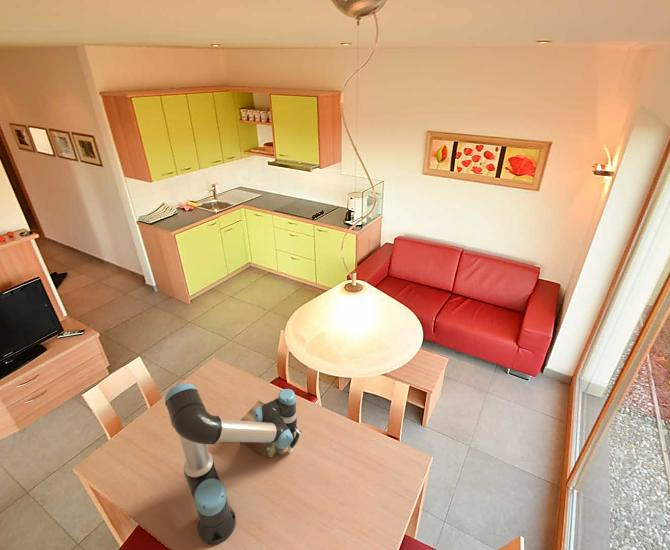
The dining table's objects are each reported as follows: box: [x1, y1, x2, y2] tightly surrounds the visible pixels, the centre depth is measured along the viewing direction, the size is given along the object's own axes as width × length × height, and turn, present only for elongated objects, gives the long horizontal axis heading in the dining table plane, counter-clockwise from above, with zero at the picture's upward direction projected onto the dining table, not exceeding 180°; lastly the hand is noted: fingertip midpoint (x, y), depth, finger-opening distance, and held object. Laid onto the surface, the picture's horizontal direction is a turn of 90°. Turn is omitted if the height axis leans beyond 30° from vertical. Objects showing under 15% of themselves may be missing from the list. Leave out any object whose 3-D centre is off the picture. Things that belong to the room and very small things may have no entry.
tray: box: [267, 443, 286, 458], centre depth 196 cm, size 14×20×5 cm
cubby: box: [239, 400, 269, 459], centre depth 195 cm, size 17×17×15 cm
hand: (290, 450), depth 191 cm, fingers closed
